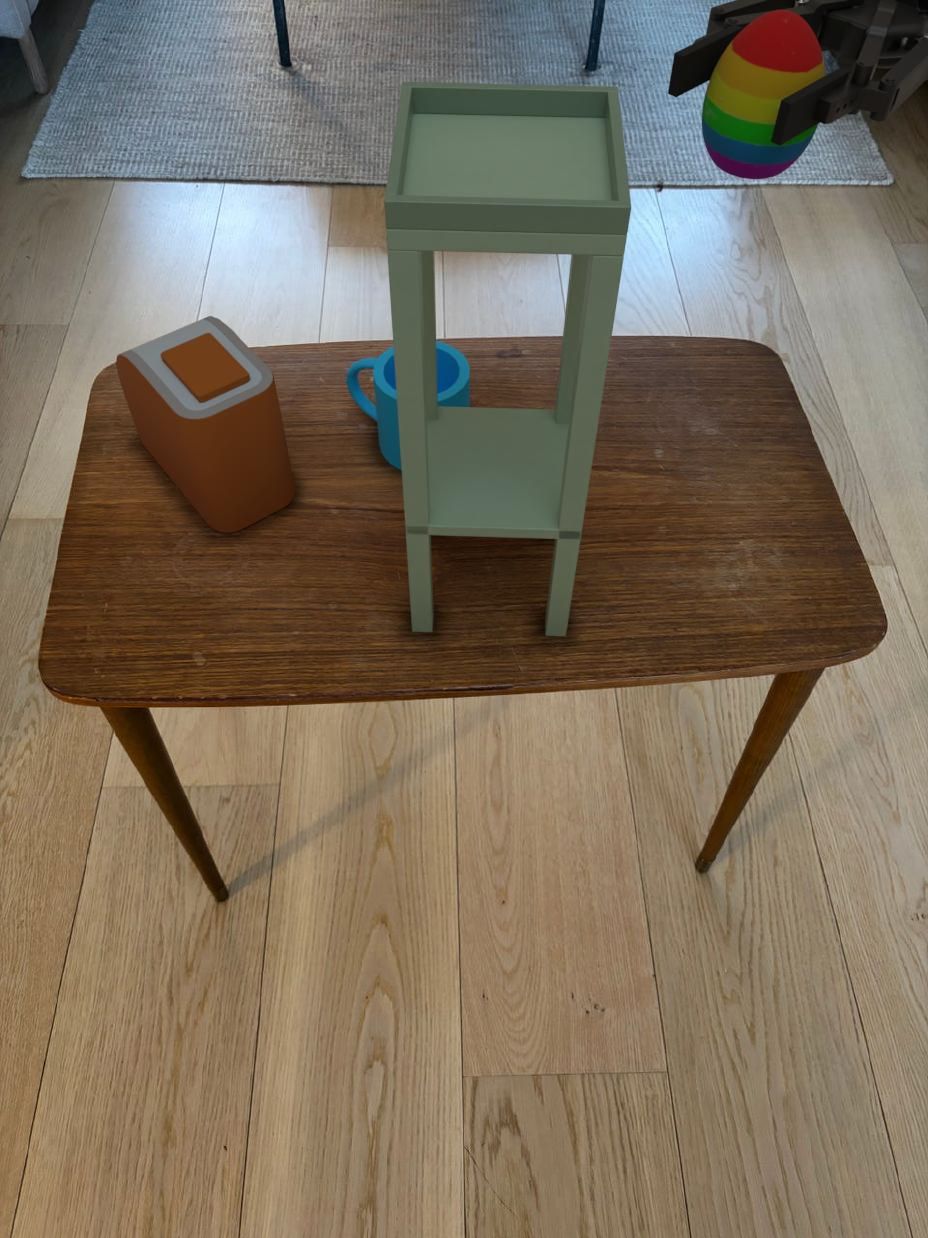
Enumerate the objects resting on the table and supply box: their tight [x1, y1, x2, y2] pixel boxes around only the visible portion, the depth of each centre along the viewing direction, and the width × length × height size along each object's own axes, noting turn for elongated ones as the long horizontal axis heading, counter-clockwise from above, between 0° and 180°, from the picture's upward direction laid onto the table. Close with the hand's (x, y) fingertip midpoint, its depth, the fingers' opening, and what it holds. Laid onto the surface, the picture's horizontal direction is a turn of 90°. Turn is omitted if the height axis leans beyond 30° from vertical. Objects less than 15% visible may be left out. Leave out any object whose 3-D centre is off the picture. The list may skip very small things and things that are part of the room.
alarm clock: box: [115, 315, 296, 534], centre depth 82 cm, size 15×8×14 cm, turn 37°
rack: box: [383, 81, 632, 637], centre depth 66 cm, size 12×12×36 cm
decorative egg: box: [701, 10, 826, 180], centre depth 69 cm, size 8×8×10 cm
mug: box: [345, 340, 471, 471], centre depth 87 cm, size 12×8×8 cm
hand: (726, 98), depth 66 cm, fingers closed on decorative egg, 8 cm apart
